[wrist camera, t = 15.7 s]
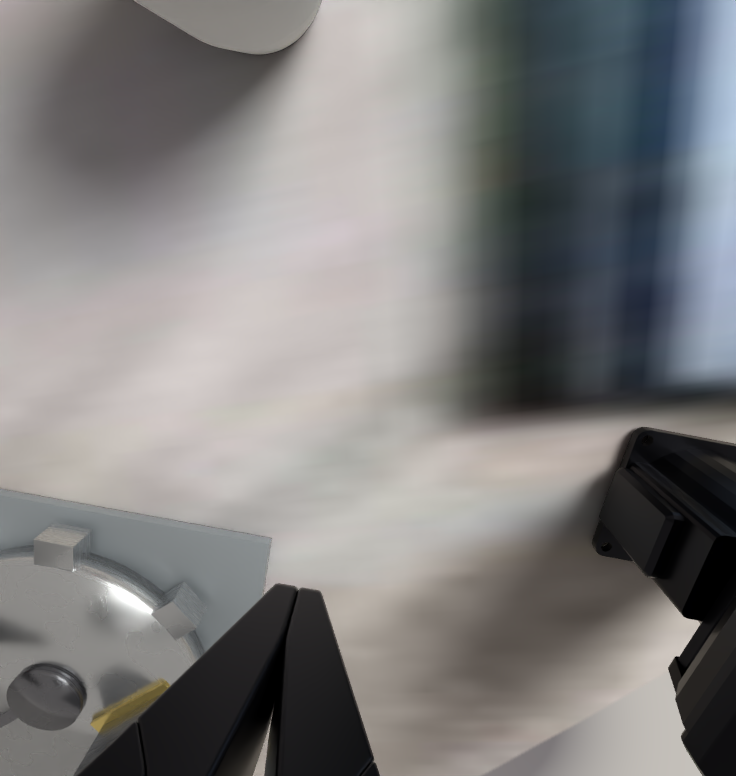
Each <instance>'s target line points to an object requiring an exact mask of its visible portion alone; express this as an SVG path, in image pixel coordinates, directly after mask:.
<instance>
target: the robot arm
mask: <svg viewBox="0 0 736 776" xmlns="http://www.w3.org/2000/svg"><path fill="white" fill-rule="evenodd" d="M645 436H648V439H647V441H645V442H643V443H641V442H642V439H643V437H645ZM599 517H600V521H599V524H598V527H597V530H596V532H595V535H594V538H593V541H592V545H593V547H594V549H595V550H596V551H597V553H598V554H600V555H602V556H607V557H612V558H618V559H623V560H629V561H634V562H635V564H636V565H637V566H638V567H639V569H640V570H641V571H642V572H643V573H644V575H645V576H647V577H650V578H652V579H653V580H654V581H655V582H656V583H657V585H658V586H659V587H660V588H661V590H662V591H663V592H664V593H665V594H666V596H667V597H668V598H669V599H670V601H671V602H672V603H673V604H674V605H675V607H676V608H677V609H678V610H679V612H680V613H681V614H682V615H683V616H684V617H686V618H688V619H694V620H698V621H699V622H700V626H699V627H698V629H697V631H696V632H695V634H694V635H693V637H692V638H691V640H690V641H689V643H688V644H687V646H686V648H685V649H684V651H683V652H682V654H681V655H680V657H678V656H676V657H675V658H674V660H673V661H672V663H671V664H670V666H669V667H668V670H669V673H670V676H671V679H672V682H673V685H674V688H675V691H676V699H675V700H676V702H677V706H678V709H679V713H680V716H681V719H682V723H683V725H684V727H685V730H684V732H683V733H682V735H681V739H682V741H683V744H684V746H685V748H686V750H687V752H688V753H689V755H690V756H691V758H692V760H693V761H694V763H695V764H696V766H697V768H698V769H699V771H700V773H701V774H702V775H703V776H736V444H733V443H728V442H723V441H717V440H712V439H707V438H702V437H696V436H691V435H686V434H680V433H675V432H670V431H665V430H659V429H654V428H649V427H641V428H638V429H637V430H635V431H634V432H633V434H632V436H631V439H630V441H629V444H628V447H627V449H626V452H625V455H624V457H623V460H622V463H621V465H620V468H619V469H618V470H617V471H616V473H615V475H614V478H613V481H612V483H611V486H610V489H609V491H608V494H607V497H606V499H605V502H604V505H603V507H602V510H601V513H600V516H599ZM605 542H608V543H607V545H605V546H601V545H602V544H603V543H605ZM272 713H273V714H272ZM271 717H272V720H271ZM270 721H271V726H270V733H269V740H268V749H267V758H266V766H265V775H264V776H380V774H379V771H378V768H377V765H376V763H375V762H374V756H373V753H372V750H371V747H370V744H369V740H368V737H367V734H366V731H365V728H364V725H363V722H362V718H361V715H360V712H359V709H358V706H357V703H356V700H355V696H354V693H353V690H352V687H351V684H350V681H349V678H348V674H347V671H346V668H345V665H344V662H343V659H342V656H341V652H340V649H339V646H338V643H337V640H336V637H335V634H334V630H333V627H332V624H331V621H330V618H329V615H328V612H327V608H326V605H325V602H324V599H323V596H322V593H321V592H320V591H318V590H313V589H308V588H300V589H299V590H298V589H297V587H295V586H291V585H285V584H280V583H278V584H275V585H274V586H273V587H272V588H271V589H270V590H269V591H268V592H267V593H266V594H265V595H264V596H263V597H262V598H261V599H259V600H258V601H257V602H256V603H255V604H254V605H253V606H252V607H251V608H250V609H249V610H248V611H247V612H246V613H245V614H244V615H243V616H242V617H241V618H240V619H239V620H238V621H237V622H236V623H235V624H234V625H233V626H232V627H231V628H230V629H229V630H227V631H226V632H225V633H224V634H223V635H222V636H221V637H220V638H219V639H218V640H217V641H216V642H215V643H214V644H213V645H212V646H211V647H210V648H209V649H208V650H207V651H206V652H205V653H204V654H203V655H202V656H201V657H200V658H199V659H198V660H197V661H196V662H194V663H193V664H192V665H191V666H190V667H189V668H188V669H187V670H186V671H185V672H184V673H183V674H182V675H181V676H180V677H179V678H178V679H177V680H176V681H175V682H174V683H173V684H172V685H171V686H170V687H169V688H168V689H167V690H166V691H165V692H164V693H162V694H161V695H160V696H159V697H158V698H157V699H156V700H155V701H154V702H153V703H152V704H151V705H150V706H149V707H148V708H147V709H146V710H145V711H144V712H143V713H142V714H141V715H140V716H139V717H138V718H137V722H136V721H134V722H132V723H131V724H130V725H129V726H128V727H127V728H126V729H125V730H124V731H123V732H122V733H121V734H120V735H119V736H118V737H117V738H116V739H115V740H114V741H113V742H112V743H111V744H110V745H108V746H107V747H106V748H105V749H104V750H103V751H102V752H101V753H100V754H99V755H98V756H97V757H95V758H94V759H93V760H92V761H91V762H90V763H89V764H88V765H87V766H86V767H85V768H84V769H82V770H81V771H80V772H79V773H78V774H77V775H76V776H253V773H254V770H255V767H256V764H257V761H258V758H259V755H260V752H261V749H262V746H263V743H264V740H265V737H266V734H267V731H268V728H269V724H270Z"/></svg>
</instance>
